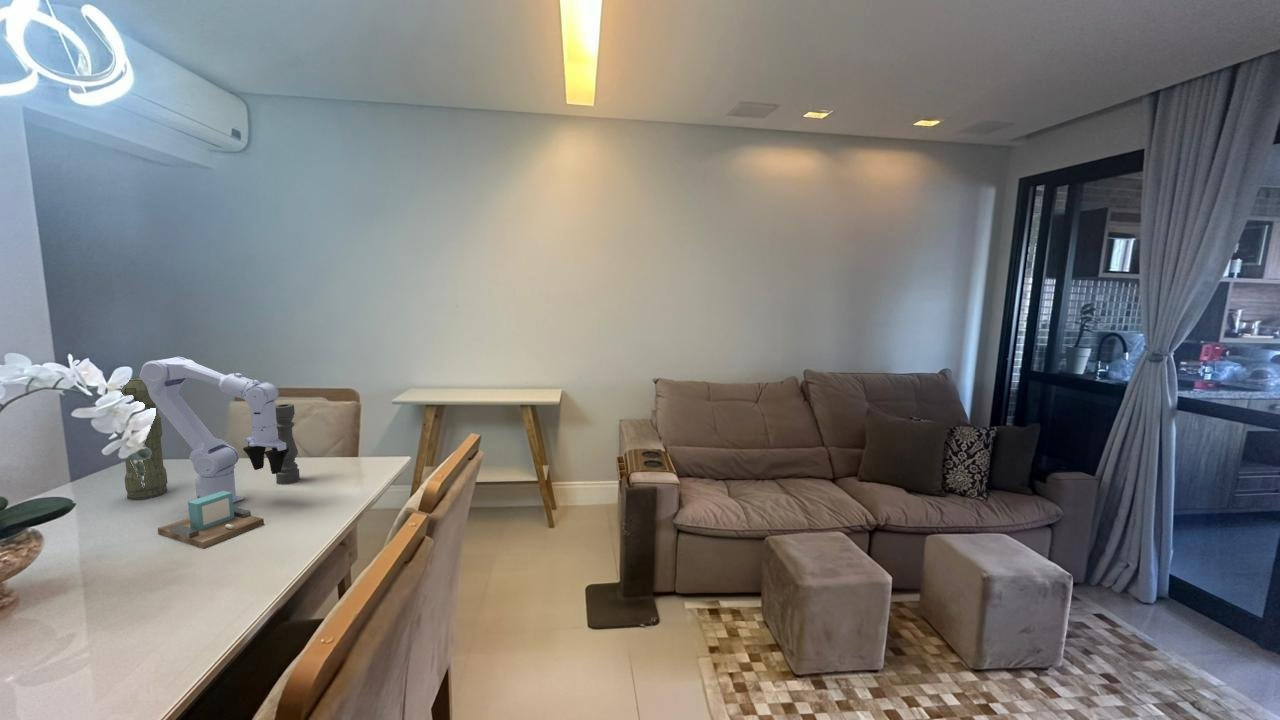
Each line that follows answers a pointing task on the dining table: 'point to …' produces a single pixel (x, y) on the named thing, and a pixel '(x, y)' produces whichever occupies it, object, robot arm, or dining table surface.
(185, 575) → the dining table surface
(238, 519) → the wooden board
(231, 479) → the robot arm
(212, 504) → the teal block
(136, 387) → the olive green tall column
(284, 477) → the candle holder
